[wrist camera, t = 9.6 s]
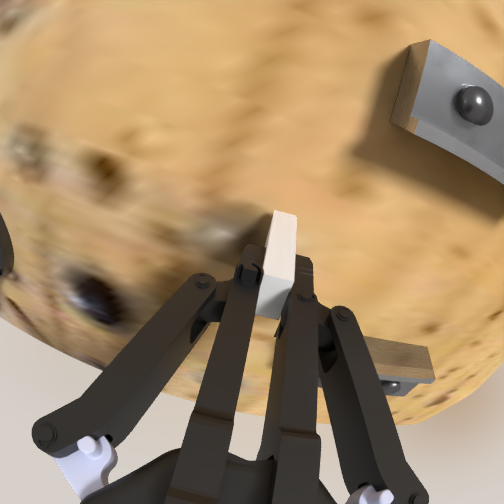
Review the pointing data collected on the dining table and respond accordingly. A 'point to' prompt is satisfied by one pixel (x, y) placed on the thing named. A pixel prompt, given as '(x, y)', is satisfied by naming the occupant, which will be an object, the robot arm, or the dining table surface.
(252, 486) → the robot arm
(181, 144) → the dining table surface
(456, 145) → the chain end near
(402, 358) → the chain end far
